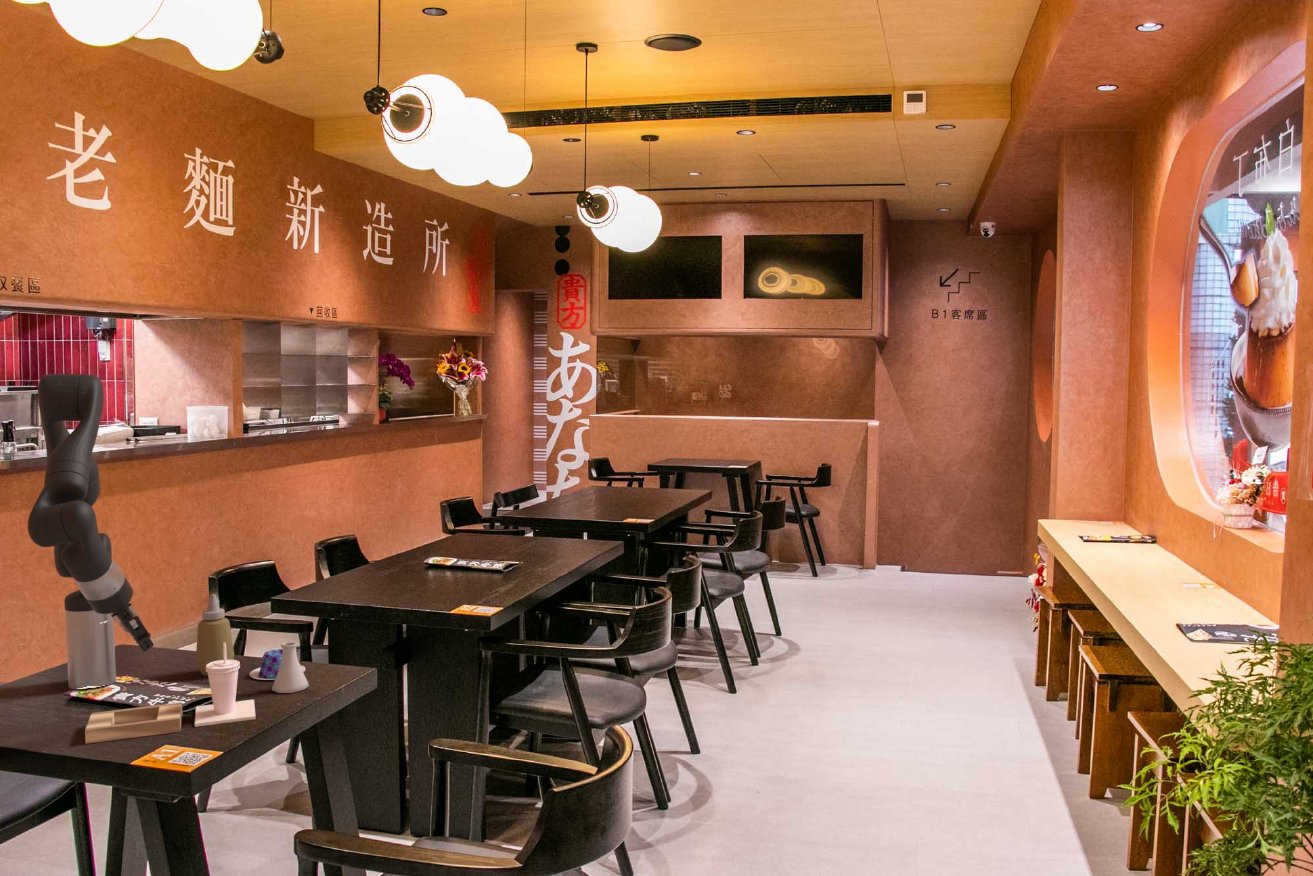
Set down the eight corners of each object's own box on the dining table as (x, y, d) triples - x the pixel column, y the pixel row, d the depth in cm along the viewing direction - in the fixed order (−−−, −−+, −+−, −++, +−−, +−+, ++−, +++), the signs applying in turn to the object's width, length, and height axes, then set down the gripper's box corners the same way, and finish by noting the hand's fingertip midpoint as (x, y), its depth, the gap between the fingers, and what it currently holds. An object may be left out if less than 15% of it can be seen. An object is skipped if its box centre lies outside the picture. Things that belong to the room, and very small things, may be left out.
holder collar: (92, 725, 202) (91, 713, 202) (182, 714, 208) (181, 702, 208) (85, 743, 193) (84, 730, 192) (180, 731, 199) (179, 718, 199)
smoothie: (229, 717, 205) (226, 648, 203) (200, 715, 206) (197, 646, 205) (248, 706, 211) (245, 639, 210) (220, 704, 212) (217, 637, 211)
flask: (265, 692, 222) (263, 646, 222) (289, 682, 229) (287, 637, 228) (292, 696, 220) (290, 649, 219) (315, 686, 226) (313, 641, 226)
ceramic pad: (196, 709, 211) (196, 706, 211) (254, 702, 216) (254, 699, 216) (194, 726, 201) (194, 723, 201) (255, 719, 205) (255, 716, 205)
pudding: (301, 681, 231) (300, 657, 230) (244, 684, 229) (243, 661, 228) (309, 665, 243) (308, 643, 242) (254, 668, 240) (254, 646, 240)
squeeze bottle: (225, 678, 232) (222, 599, 231) (189, 678, 232) (186, 599, 231) (240, 667, 240) (238, 590, 239) (206, 667, 240) (203, 590, 239)
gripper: (139, 590, 193) (173, 643, 203) (105, 554, 200) (139, 607, 211) (100, 615, 189) (137, 668, 200) (67, 577, 196) (104, 630, 207)
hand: (138, 636), depth 205 cm, fingers open, 8 cm apart
